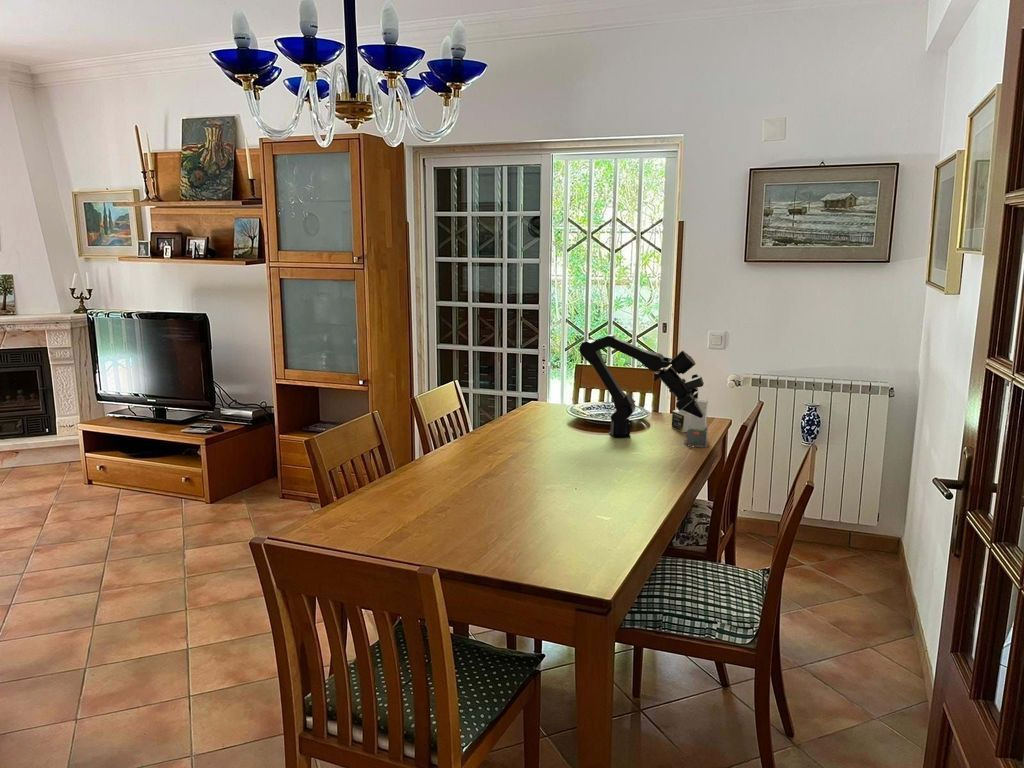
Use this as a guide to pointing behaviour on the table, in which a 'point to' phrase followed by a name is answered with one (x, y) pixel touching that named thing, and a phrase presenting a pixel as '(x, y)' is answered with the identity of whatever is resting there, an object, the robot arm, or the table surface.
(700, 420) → the column
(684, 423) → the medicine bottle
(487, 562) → the table surface
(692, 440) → the base
